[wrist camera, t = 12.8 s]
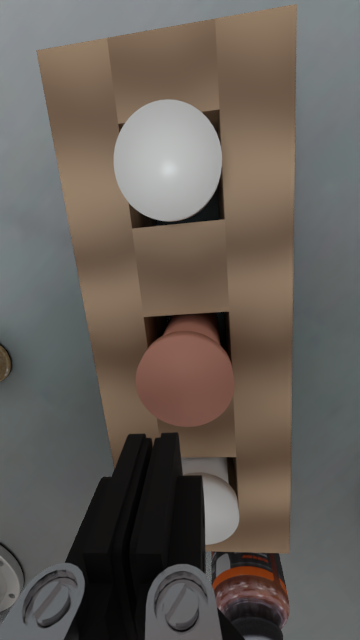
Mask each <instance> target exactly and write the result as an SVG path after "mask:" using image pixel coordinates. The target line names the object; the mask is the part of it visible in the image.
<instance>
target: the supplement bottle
mask: <svg viewBox="0 0 360 640" xmlns="http://www.w3.org/2000/svg"><path fill="white" fill-rule="evenodd" d="M212 587H213V590H214V594H215V599H216V605H217V608H218V609H219V610H220V611H221V612H222V613H223V614H224V616H225V617H226V618H227V619H228V620H229V621H230V622H231V624H232V625H233V626H234V627H235V628H236V629H237V631H238V632H239V633H240V634H241V635H242V636H243V637H244V639H245V640H283V634H282V631H281V629H282V628H283V626H284V625H285V624H286V622H287V619H288V616H289V600H288V595H287V590H286V585H285V580H284V576H283V571H282V566H281V562H280V557H279V553H253V552H217V551H212Z"/></svg>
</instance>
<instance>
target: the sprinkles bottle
mask: <svg viewBox="0 0 360 640" xmlns="http://www.w3.org/2000/svg"><path fill="white" fill-rule="evenodd" d="M10 363H11V362H10V358H9V356H8V353H7V352H6V350H5V349H4V348H3V347H2V346H0V381H2V380H4V379H5V378H6V377H7V376H8V374H9V372H10V369H11V364H10Z"/></svg>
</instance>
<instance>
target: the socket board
mask: <svg viewBox="0 0 360 640" xmlns="http://www.w3.org/2000/svg"><path fill="white" fill-rule="evenodd" d="M296 21H297V4H295V5H289V6H283V7H278V8H272V9H267V10H261V11H255V12H250V13H244V14H239V15H233V16H227V17H222V18H216V19H211V20H205V21H199V22H194V23H188V24H183V25H177V26H171V27H166V28H160V29H154V30H149V31H143V32H138V33H132V34H126V35H121V36H115V37H110V38H104V39H98V40H93V41H87V42H82V43H76V44H70V45H65V46H59V47H54V48H48V49H42V50H37V56H38V62H39V67H40V73H41V78H42V83H43V89H44V94H45V99H46V105H47V110H48V115H49V121H50V126H51V131H52V137H53V142H54V148H55V153H56V158H57V164H58V169H59V174H60V180H61V185H62V190H63V196H64V201H65V206H66V212H67V217H68V223H69V228H70V233H71V239H72V244H73V249H74V255H75V260H76V265H77V271H78V276H79V281H80V287H81V292H82V298H83V303H84V308H85V314H86V319H87V324H88V330H89V335H90V340H91V346H92V351H93V356H94V362H95V367H96V373H97V378H98V383H99V389H100V394H101V399H102V405H103V410H104V415H105V421H106V426H107V431H108V437H109V442H110V448H111V453H112V458H113V464H114V469H115V467H116V464H117V462H118V459H119V456H120V454H121V451H122V449H123V446H124V443H125V441H126V438H127V436H128V434H142V433H145V434H146V438H151V439H152V444H153V445H154V440H155V438H159V437H161V433H172V432H178V435H179V443H180V452H181V457H227V469H228V482H229V485H230V486H231V487H232V488H233V490H234V491H235V493H236V496H237V500H238V509H239V524H238V527H237V529H236V530H235V532H234V533H233V534H232V535H231V536H230V537H229V538H227V539H226V540H224V541H222V542H219V543H215V544H210V545H205V551H217V552H253V553H288V554H290V491H291V413H292V334H293V256H294V178H295V99H296ZM166 99H170V100H178V101H182V102H185V103H188V104H190V105H192V106H193V107H195V108H197V109H198V110H199V111H201V112H202V113H203V114H204V115H205V116H206V117H207V118H208V120H209V121H210V122H211V124H212V125H213V127H214V129H215V131H216V133H217V135H218V138H219V141H220V145H221V151H222V168H221V175H220V179H219V183H218V199H219V218H220V220H213V221H203V222H193V223H183V224H173V225H163V226H156V219H152V218H150V217H147V216H145V215H143V214H142V213H140V212H139V211H137V210H136V209H135V208H134V207H133V206H132V205H130V204H129V202H128V201H127V200H126V199H125V197H124V195H123V194H122V192H121V190H120V188H119V186H118V183H117V180H116V177H115V172H114V150H115V145H116V141H117V138H118V135H119V133H120V131H121V129H122V127H123V125H124V124H125V123H126V121H127V120H128V118H129V117H130V116H131V115H132V114H133V113H134V112H136V111H137V110H138V109H140V108H141V107H143V106H145V105H146V104H149V103H151V102H154V101H158V100H166ZM212 312H224V313H225V332H226V343H220V346H221V347H222V348H223V349H224V350H225V352H226V353H227V355H228V357H229V359H230V361H231V364H232V369H233V375H234V382H235V385H234V394H233V397H232V400H231V402H230V404H229V406H228V407H227V408H226V410H225V411H224V412H223V413H222V414H221V415H220V416H219V417H217V418H216V419H214V420H213V421H211V422H209V423H206V424H203V425H200V426H195V427H181V426H175V425H171V424H168V423H166V422H163V421H162V420H160V419H158V418H157V417H155V416H154V415H153V414H151V413H150V412H149V411H148V410H147V409H146V407H145V406H144V405H143V403H142V402H141V400H140V398H139V395H138V393H137V389H136V372H137V368H138V365H139V363H140V361H141V359H142V357H143V355H144V354H145V352H146V350H147V349H148V348H149V346H150V345H151V344H152V343H153V342H154V341H156V340H157V339H158V338H160V337H162V336H163V334H164V332H165V330H166V328H167V319H166V315H181V314H197V313H212Z"/></svg>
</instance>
